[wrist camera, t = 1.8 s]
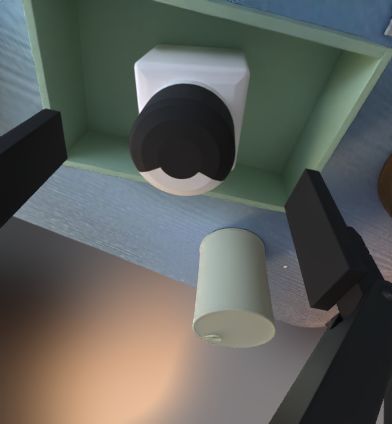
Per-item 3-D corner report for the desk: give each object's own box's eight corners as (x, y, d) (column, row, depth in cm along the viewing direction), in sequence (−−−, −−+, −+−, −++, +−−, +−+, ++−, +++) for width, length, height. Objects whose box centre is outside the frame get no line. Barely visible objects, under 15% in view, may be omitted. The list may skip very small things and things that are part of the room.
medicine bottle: (156, 42, 21) (102, 84, 12) (245, 48, 20) (259, 95, 11) (160, 128, 25) (124, 204, 16) (232, 133, 25) (236, 214, 16)
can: (186, 245, 37) (173, 328, 28) (239, 217, 33) (244, 304, 24) (225, 277, 41) (225, 358, 32) (277, 255, 37) (293, 342, 28)
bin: (84, 132, 27) (53, 163, 22) (67, -41, 18) (11, -52, 13) (283, 177, 28) (294, 215, 23) (356, 35, 20) (397, 50, 15)
